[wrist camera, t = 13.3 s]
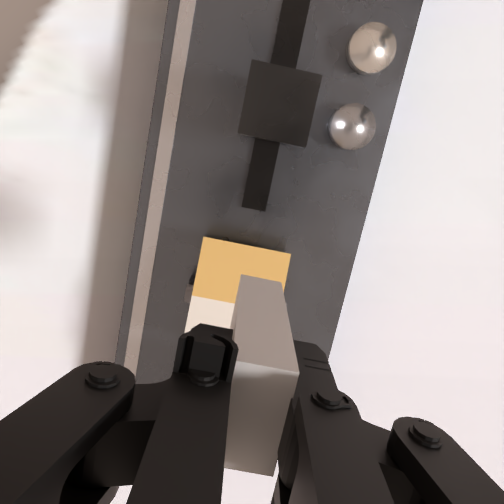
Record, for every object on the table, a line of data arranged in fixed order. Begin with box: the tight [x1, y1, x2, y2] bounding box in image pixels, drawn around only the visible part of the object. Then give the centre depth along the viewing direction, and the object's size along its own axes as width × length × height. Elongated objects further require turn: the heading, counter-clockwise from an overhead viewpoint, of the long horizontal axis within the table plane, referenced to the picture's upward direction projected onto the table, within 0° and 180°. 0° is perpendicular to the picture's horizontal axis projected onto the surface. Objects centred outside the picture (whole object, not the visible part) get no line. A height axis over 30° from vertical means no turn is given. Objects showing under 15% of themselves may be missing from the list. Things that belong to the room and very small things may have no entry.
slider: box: [238, 59, 322, 148], centre depth 22 cm, size 3×3×4 cm
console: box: [115, 0, 423, 460], centre depth 26 cm, size 31×13×4 cm, turn 168°
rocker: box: [184, 237, 291, 333], centre depth 24 cm, size 6×6×2 cm
